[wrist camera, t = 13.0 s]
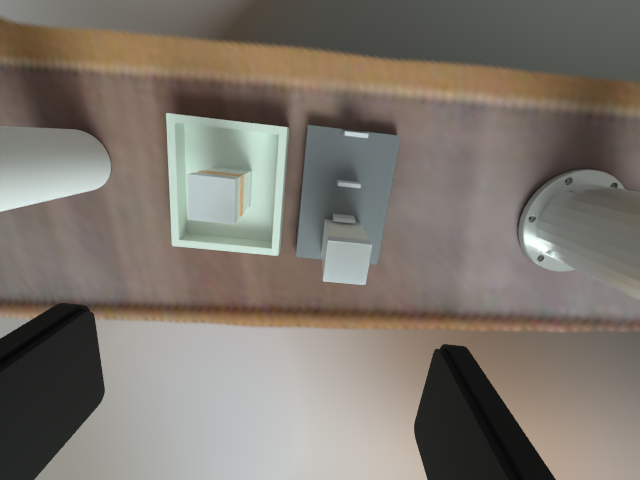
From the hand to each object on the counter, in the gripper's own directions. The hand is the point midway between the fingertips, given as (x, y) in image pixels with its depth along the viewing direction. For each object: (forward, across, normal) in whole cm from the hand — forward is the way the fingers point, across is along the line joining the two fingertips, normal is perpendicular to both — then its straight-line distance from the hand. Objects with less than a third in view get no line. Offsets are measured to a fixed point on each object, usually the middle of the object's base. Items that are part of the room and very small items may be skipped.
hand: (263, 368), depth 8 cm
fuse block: (+29, -4, 0) cm, 29 cm away
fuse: (+28, -4, +4) cm, 28 cm away
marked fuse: (+28, +9, 0) cm, 29 cm away
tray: (+29, +9, 0) cm, 30 cm away
